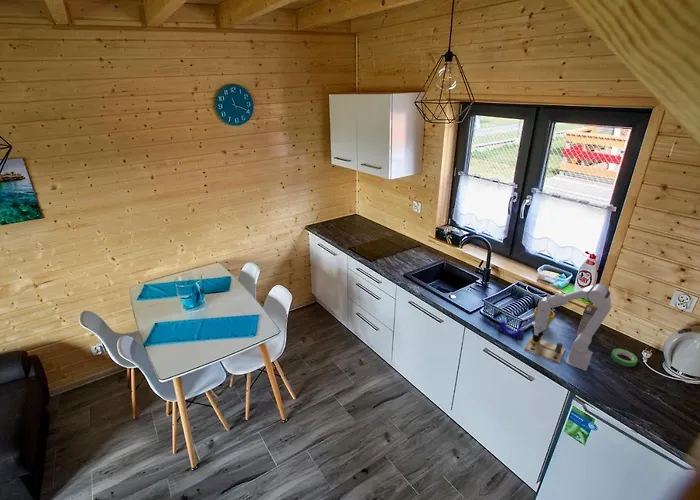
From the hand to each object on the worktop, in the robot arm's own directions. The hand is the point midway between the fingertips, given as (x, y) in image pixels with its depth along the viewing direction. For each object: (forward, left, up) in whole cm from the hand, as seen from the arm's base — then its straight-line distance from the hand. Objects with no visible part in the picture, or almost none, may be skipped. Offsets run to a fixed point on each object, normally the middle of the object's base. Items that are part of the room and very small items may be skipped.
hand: (536, 339), depth 212 cm
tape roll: (-39, -16, -4) cm, 42 cm away
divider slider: (0, +2, -2) cm, 3 cm away
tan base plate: (-5, +2, -3) cm, 6 cm away
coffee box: (-19, -27, -4) cm, 33 cm away
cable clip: (+14, -2, -4) cm, 14 cm away
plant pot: (+2, -20, -4) cm, 20 cm away
